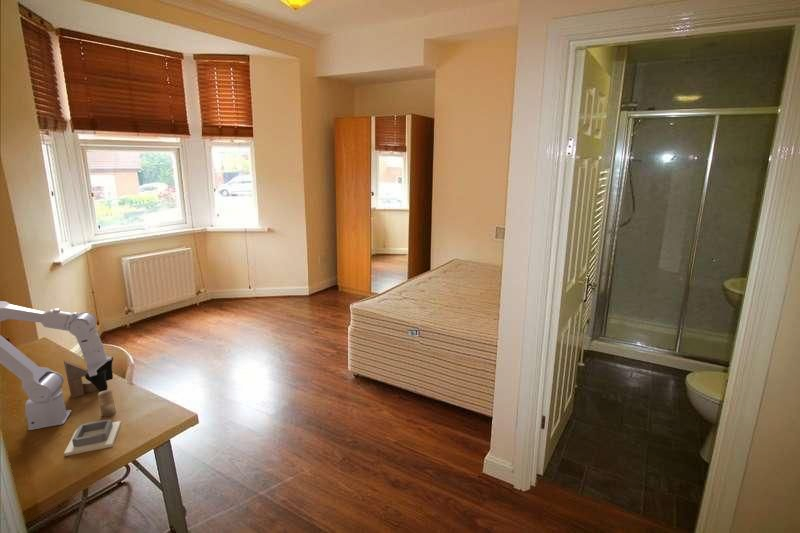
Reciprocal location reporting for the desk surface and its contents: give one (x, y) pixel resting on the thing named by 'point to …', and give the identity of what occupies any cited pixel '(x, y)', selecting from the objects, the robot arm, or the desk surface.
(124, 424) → the desk surface
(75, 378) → the wooden block
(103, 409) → the rail end peg
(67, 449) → the cup bracket
